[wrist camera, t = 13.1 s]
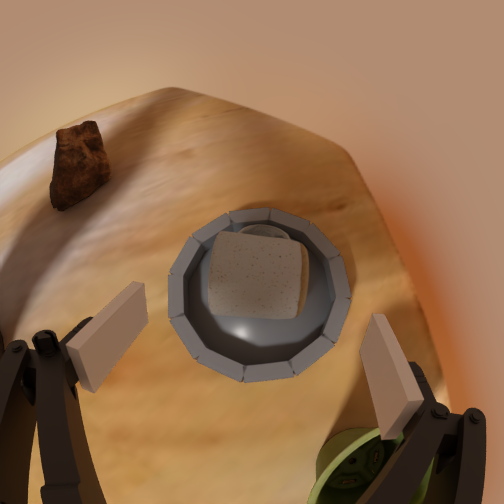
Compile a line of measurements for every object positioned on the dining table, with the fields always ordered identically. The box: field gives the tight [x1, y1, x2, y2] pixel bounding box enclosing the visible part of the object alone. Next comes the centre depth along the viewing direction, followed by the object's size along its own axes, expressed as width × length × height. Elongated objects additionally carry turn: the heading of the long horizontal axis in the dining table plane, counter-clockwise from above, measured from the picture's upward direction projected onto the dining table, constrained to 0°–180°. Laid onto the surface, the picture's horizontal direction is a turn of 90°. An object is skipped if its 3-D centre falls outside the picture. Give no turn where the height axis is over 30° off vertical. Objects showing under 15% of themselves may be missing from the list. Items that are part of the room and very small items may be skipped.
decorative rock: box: [49, 121, 111, 211], centre depth 31 cm, size 12×6×11 cm, turn 124°
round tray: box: [168, 207, 352, 383], centre depth 27 cm, size 17×17×3 cm
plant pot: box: [307, 427, 434, 504], centre depth 15 cm, size 12×12×11 cm
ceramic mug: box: [208, 224, 309, 319], centre depth 25 cm, size 10×8×7 cm
